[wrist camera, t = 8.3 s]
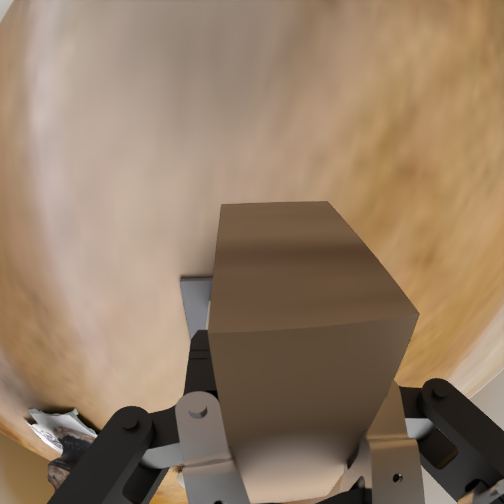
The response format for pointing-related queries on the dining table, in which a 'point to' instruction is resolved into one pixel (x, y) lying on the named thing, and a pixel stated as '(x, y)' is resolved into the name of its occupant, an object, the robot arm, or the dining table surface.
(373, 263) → the brown rectangular block
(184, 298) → the mat
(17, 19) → the dining table surface
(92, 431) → the head bust
